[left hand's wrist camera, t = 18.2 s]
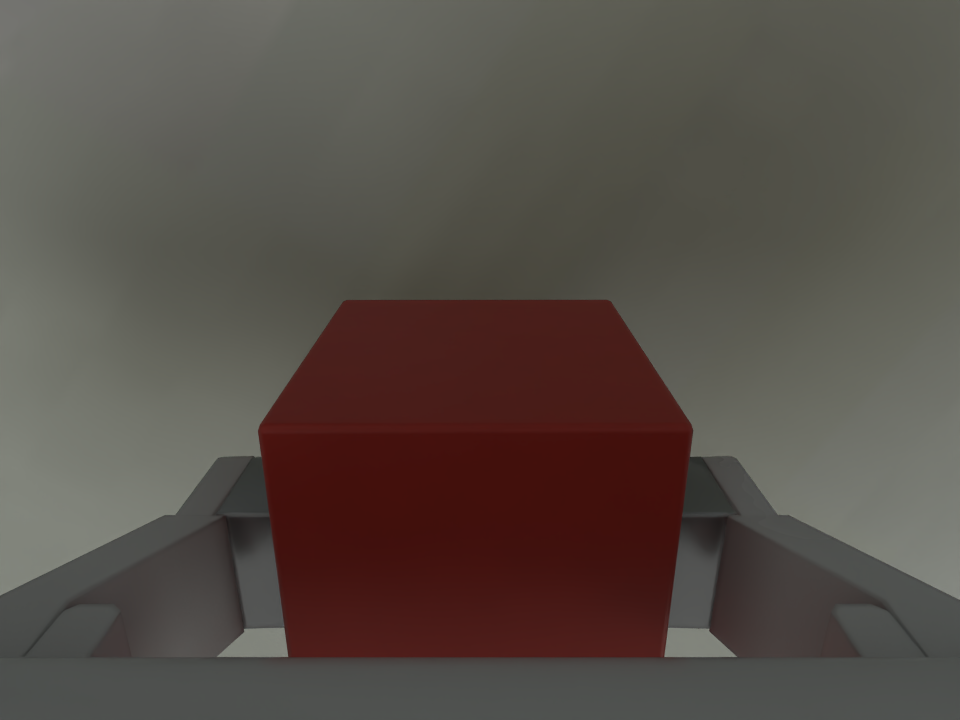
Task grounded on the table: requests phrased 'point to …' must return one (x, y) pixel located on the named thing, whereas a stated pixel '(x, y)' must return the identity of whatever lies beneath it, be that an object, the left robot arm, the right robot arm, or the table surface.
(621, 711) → the left robot arm
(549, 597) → the block
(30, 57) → the table surface
